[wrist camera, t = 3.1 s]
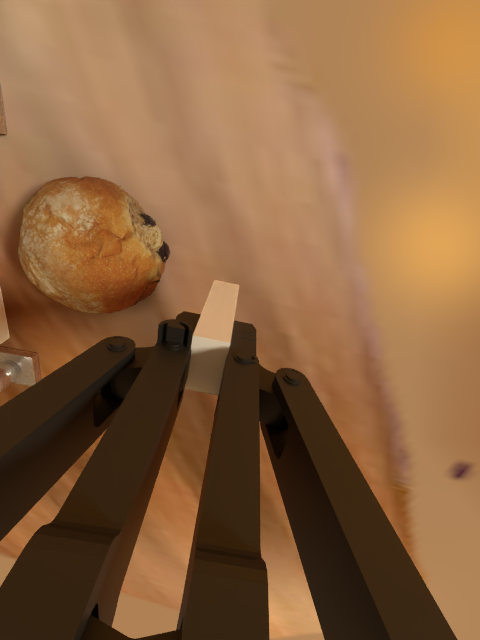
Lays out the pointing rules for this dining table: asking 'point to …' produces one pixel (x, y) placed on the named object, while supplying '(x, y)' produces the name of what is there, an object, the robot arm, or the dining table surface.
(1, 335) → the gate
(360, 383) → the dining table surface
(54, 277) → the bread roll
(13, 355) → the grey small pieces
